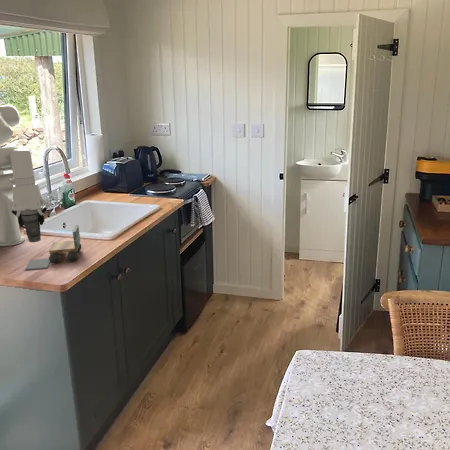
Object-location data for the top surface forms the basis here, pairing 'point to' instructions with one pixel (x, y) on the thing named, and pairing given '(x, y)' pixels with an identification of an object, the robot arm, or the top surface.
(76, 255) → the trolley
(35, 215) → the beverage cup
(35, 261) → the mat
